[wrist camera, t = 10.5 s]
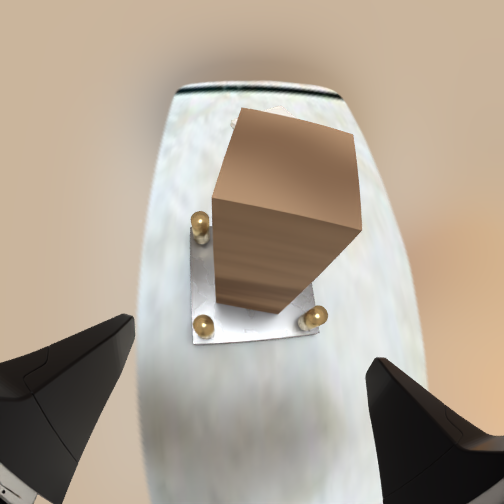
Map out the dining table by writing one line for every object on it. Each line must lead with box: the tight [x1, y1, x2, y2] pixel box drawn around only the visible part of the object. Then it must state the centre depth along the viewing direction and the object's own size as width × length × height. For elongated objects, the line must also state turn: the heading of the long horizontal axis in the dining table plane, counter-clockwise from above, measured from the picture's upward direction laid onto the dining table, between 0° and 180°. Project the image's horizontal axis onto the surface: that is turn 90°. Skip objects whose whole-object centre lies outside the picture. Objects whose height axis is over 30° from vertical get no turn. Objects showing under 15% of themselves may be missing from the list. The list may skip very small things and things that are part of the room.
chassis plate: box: [190, 211, 328, 345], centre depth 21 cm, size 10×10×4 cm
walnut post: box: [212, 108, 362, 314], centre depth 16 cm, size 5×5×14 cm
